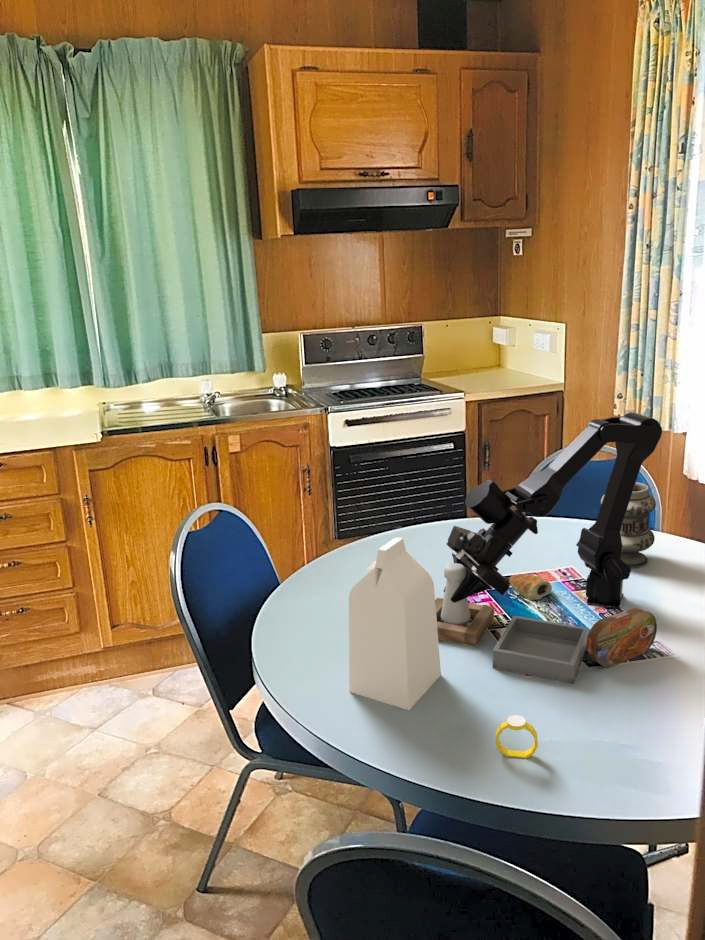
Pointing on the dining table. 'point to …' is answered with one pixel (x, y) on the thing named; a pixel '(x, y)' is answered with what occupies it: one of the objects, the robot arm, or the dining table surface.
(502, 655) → the bin
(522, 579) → the pastry
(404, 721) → the dining table surface
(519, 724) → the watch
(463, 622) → the salt shaker
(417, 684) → the milk
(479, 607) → the brown flat square frame
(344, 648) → the dining table surface
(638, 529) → the apothecary jar
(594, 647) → the tin
